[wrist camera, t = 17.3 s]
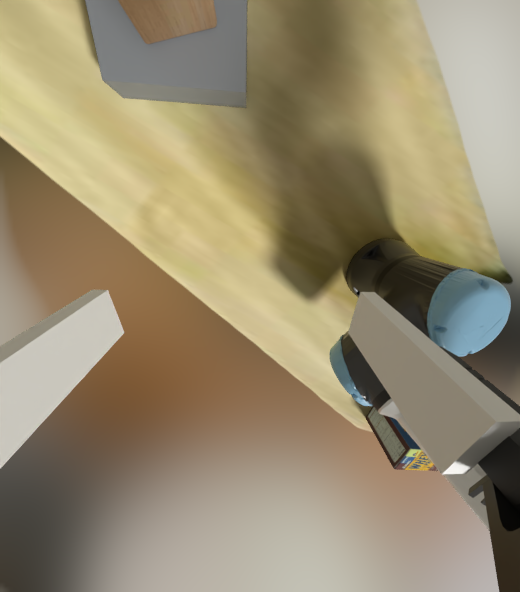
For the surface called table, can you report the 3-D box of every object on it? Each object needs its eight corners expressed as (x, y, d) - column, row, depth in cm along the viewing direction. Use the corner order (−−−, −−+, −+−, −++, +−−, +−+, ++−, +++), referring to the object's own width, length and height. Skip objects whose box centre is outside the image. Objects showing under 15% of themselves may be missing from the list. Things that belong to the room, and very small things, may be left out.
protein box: (402, 420, 74) (438, 471, 60) (364, 417, 72) (393, 469, 58) (416, 401, 69) (459, 452, 55) (377, 398, 67) (411, 449, 53)
